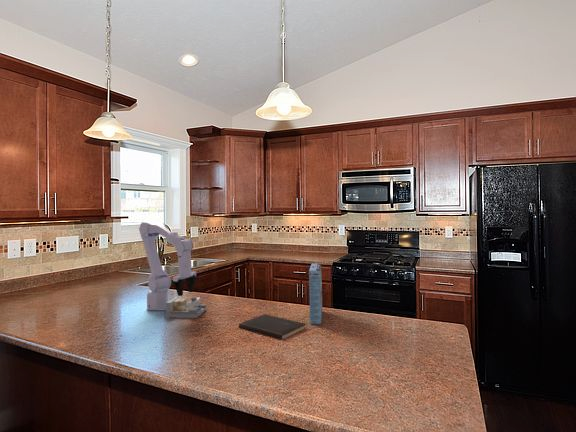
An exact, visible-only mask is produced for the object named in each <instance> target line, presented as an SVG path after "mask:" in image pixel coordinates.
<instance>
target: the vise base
mask: <svg viewBox="0 0 576 432" xmlns="http://www.w3.org/2000/svg"><path fill="white" fill-rule="evenodd" d="M177 299H180V296H174V297H173V298H172V299H170V300H168V302H166V310H165V315H164V316H165V318H169V317H170V318H173V319H174V317H176V318H177V317H178V318H177V319H179V318H180V319H181V318H183V319H184V318H185V319H197V317H198V316H199V317H200V316H201V315H202V314H203V313H205V311H206V309H207V306H206V304H201V308H199V309H198V310H197V311H187V309H186V310H185V311H174V301H175V300H177ZM199 317H198V318H199Z"/></svg>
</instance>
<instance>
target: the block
mask: <svg viewBox="0 0 576 432" xmlns="http://www.w3.org/2000/svg"><path fill="white" fill-rule="evenodd" d="M187 302H188V301H187V298H179V299H177V300H175V301H174V311H185V310H186V309H187Z"/></svg>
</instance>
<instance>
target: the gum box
mask: <svg viewBox="0 0 576 432" xmlns="http://www.w3.org/2000/svg"><path fill="white" fill-rule="evenodd" d="M322 277H323V276H322V263H311V265H310V268H309V270H308V285H309V287H308V288H309V291H308V292H309V324H310V325H321V324H322V318H323V317H322V316H323V287H322V286H323V283H322V281H323V280H322Z"/></svg>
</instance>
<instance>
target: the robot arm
mask: <svg viewBox="0 0 576 432" xmlns="http://www.w3.org/2000/svg"><path fill="white" fill-rule="evenodd" d="M138 230H139V234H140V237H141V240H142V243H143V247H144V250H145V255H146V258H147V262H148V265H149V268H150V269H149V270H150V272H151V273H150V274H149V276H148V277H147V281H148V289H149V291H148V292H147V295H146V311H166V302H168V301H169V290H170V288H171V286H172V284H173V286H174V287H175V290H176V293H177V297H182V296H183V295H184V286H185V282H186V284H187V291H188V293H193V292H194V287H195V284H196V282H197V279H198V276H197V272H196V271H192V259H191V258H192V254H191V253H192V251H193V249H194V242H193V240H192V239H190V238H185V237H184V236H181V235H180V234H179V232H177V231H171V230H169V229H168V228H167V227H166V226H165V225H164V223H163V222H161V221H160V220H157V221H141V223H140V225H139V228H138ZM160 235H161V236H163V237H164V238H165V239H166V240H167V242H168V243H169V244H170V245H172V246H173V247H174V249H175V251H176V255H177V257H178V258H177V259H178V260H177V261H178V265H177V266H178V268H177V269H178V274H177V275H175V276H173V277H172V279H171V277H170V276H169V274H168V272H166V271H165V270H164V269H163V267H162V262H161V259H160V256H159V253H158V249H157V246H156V241H155V240H156V239H158V237H159V236H160ZM185 280H186V281H185Z"/></svg>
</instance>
